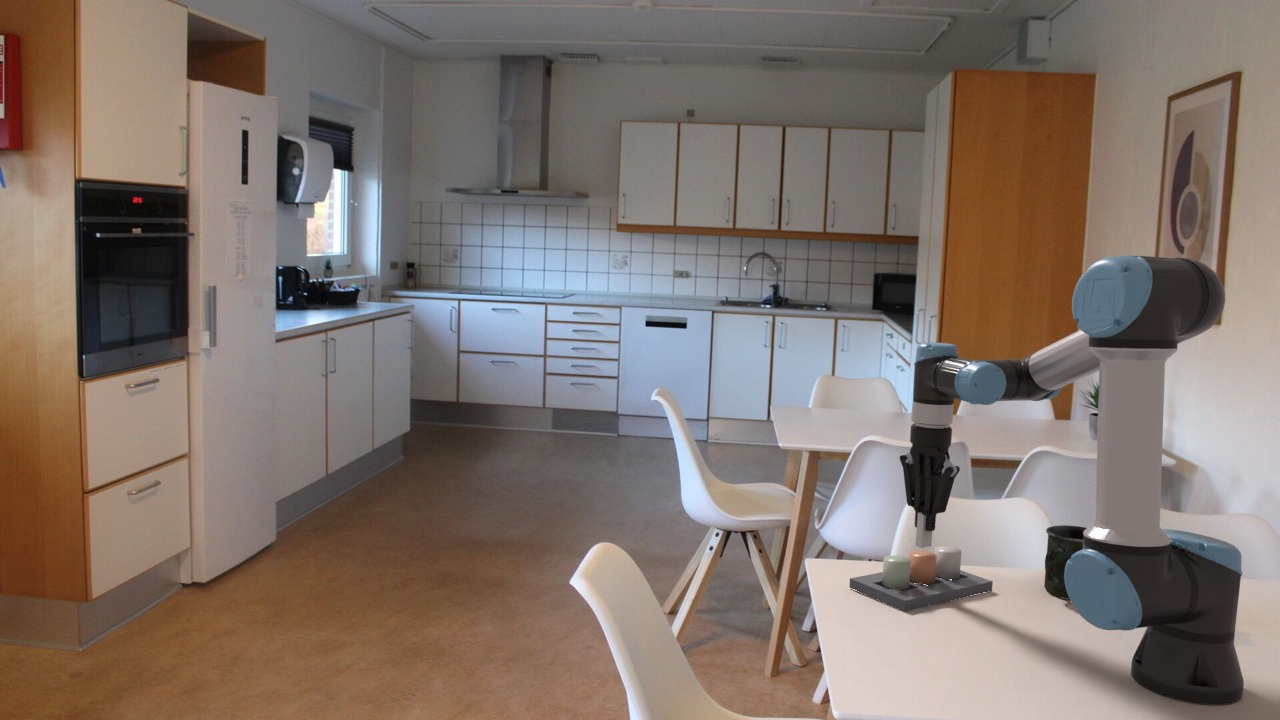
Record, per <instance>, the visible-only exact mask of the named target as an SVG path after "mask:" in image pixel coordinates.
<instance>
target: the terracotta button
mask: <svg viewBox="0 0 1280 720" xmlns="http://www.w3.org/2000/svg"><path fill="white" fill-rule="evenodd" d="M909 559H910V560H911V569H910V581H912V582H914V583H918V585H919V584H920V585H923V584H932V583H935V574H936V559H937V555H936V554H934V553H933V552H931V551H925V550H913V551H910V552H909Z"/></svg>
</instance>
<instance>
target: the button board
mask: <svg viewBox="0 0 1280 720" xmlns="http://www.w3.org/2000/svg"><path fill="white" fill-rule="evenodd" d="M882 577H883V571H881V572H877V573H876V572H875V573H870V574H866V575H861V576H855V577H850V578H849V587H850V588H852V589H855V590H857V591H859V592H861V593H863V594H862V595H864V594H866V595H868V596H870V597H869V598H871V597H872V598H871V599H873V598H875V599H874V600H876V599H878V600H880V601H882V602H881V603H883V602H884V604H885V603H887V604H886V605H888V604H889V605H888V606H890V605H891V607H892V606H893V607H892V608H895V607H896V608H895V609H897V608H898V609H897V610H899V611H902V612H908V610H909V611H913V610H916V609H922V608H926V607H929V605H931V606H935V605H939V604H944V603H948V602H952V601H956V600H955V599H957V600H960V599H959V598H961V599H964V598H963V597H966V598H968V597H967V596H970V595H974V594H978V593H983V592H987V593H989V592H988V591H992V592H993V583H994V582H993V580H990V579H987V578H984V577H982V576H981V577H980V576H978V575H975V574H972V573H969V572H967V571H964V570H961V569H960V577H959V578H956V579H952V581H951V580H946V579H944V578H942V579H940V578H941V577H937V576H935V583H932V584H926V585H928V586H926V585H923V586H921V585H919V584H914V582H912V581H910V585H909V588H908V589H904V590H901V591H897V592H896V591H894V590H892V589H890V588H887V587H885V586H883V585H882ZM852 589H851V590H852ZM889 589H890V590H889ZM859 592H858V593H859ZM861 593H860V594H861ZM983 594H984V593H983ZM866 595H865V596H866ZM868 596H867V597H868ZM974 596H975V595H974ZM970 597H971V596H970ZM878 600H877V601H878ZM951 600H952V601H951ZM880 601H879V602H880ZM943 602H944V603H943ZM934 604H935V605H934ZM925 606H926V607H925ZM921 607H922V608H921Z"/></svg>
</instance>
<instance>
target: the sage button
mask: <svg viewBox="0 0 1280 720" xmlns="http://www.w3.org/2000/svg"><path fill="white" fill-rule="evenodd" d="M910 569H911V560H910V559H909V558H908V557H905V556H902V555H885V556H884V557H883V564H882V572H883V577H882V585H883V586H885V587H887V588H890V590H896V591H899V590H904V589H908V588H909V585H910Z"/></svg>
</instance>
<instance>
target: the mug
mask: <svg viewBox="0 0 1280 720" xmlns="http://www.w3.org/2000/svg"><path fill="white" fill-rule="evenodd" d="M1087 528H1088V527H1085V526H1076V525H1066V524H1064V525H1062V524H1061V525H1052V526H1048V527H1047V528H1046V529H1045V530H1046V532H1045V533H1046V534H1047V547H1046V555H1045V559H1044V570H1045V572H1044V573H1045V575H1044V584H1043V585H1044V589H1045V590H1046V592H1047V593H1049V594H1050V595H1053V596H1054V597H1058V598H1061V599H1065V600H1070V598H1069V596H1068V593H1067V590H1066V586H1065V579H1064V573H1065V567H1066V563H1067V561H1068V560H1069V559H1071V556H1072V555H1073V554H1074V553H1076V552H1077V551H1080V550H1082V549H1083V532H1084V530H1086V529H1087Z"/></svg>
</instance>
